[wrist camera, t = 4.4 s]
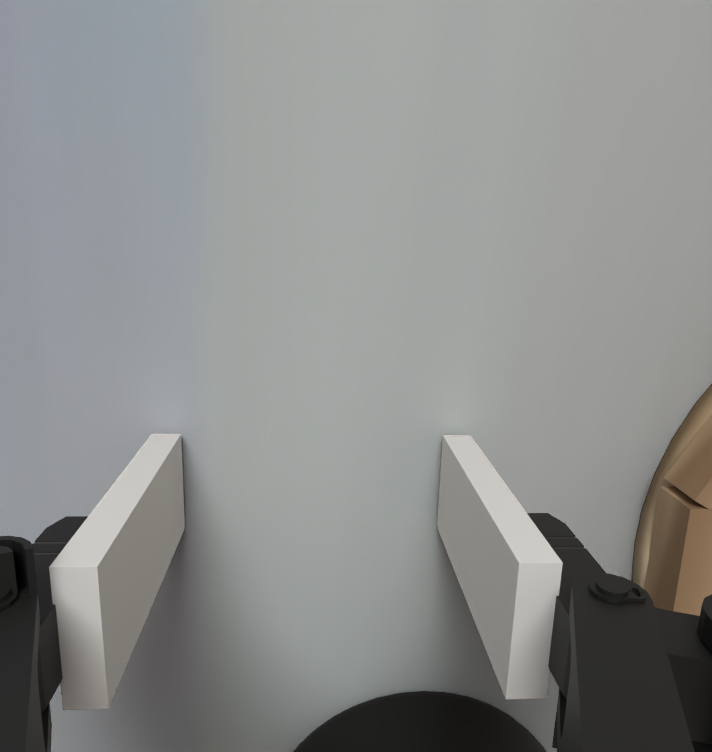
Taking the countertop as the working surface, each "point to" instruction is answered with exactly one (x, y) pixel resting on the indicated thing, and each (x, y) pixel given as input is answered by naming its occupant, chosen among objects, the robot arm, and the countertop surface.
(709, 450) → the tray
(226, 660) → the countertop surface
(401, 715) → the mug
